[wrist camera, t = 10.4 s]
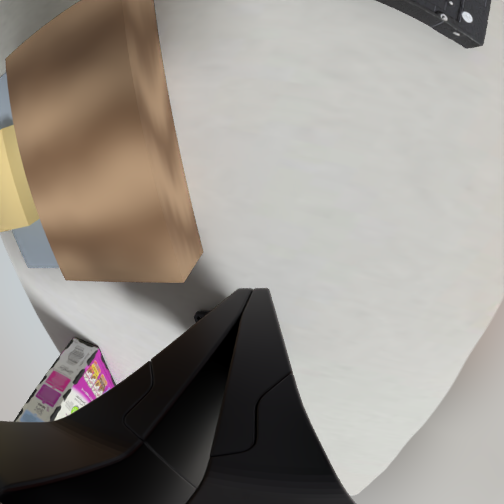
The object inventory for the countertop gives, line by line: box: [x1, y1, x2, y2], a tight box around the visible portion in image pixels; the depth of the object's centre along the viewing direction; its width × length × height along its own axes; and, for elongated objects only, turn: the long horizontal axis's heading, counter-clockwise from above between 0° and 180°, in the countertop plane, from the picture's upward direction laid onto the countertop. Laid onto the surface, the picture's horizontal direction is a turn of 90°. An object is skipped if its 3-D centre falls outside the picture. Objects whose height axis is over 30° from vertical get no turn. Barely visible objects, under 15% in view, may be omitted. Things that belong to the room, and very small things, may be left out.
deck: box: [5, 0, 203, 283], centre depth 17 cm, size 20×12×4 cm, turn 9°
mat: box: [0, 73, 60, 268], centre depth 22 cm, size 22×12×1 cm, turn 9°
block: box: [0, 125, 40, 232], centre depth 21 cm, size 10×7×2 cm
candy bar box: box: [14, 338, 116, 422], centre depth 29 cm, size 11×5×16 cm, turn 175°
